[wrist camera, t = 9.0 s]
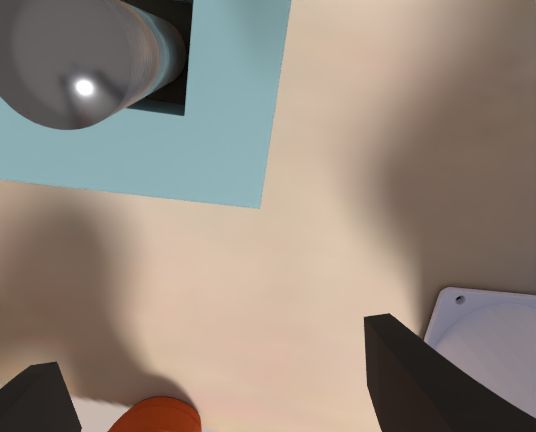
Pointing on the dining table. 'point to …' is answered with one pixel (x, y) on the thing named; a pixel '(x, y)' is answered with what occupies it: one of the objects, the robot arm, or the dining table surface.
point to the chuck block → (175, 121)
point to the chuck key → (82, 59)
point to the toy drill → (159, 417)
